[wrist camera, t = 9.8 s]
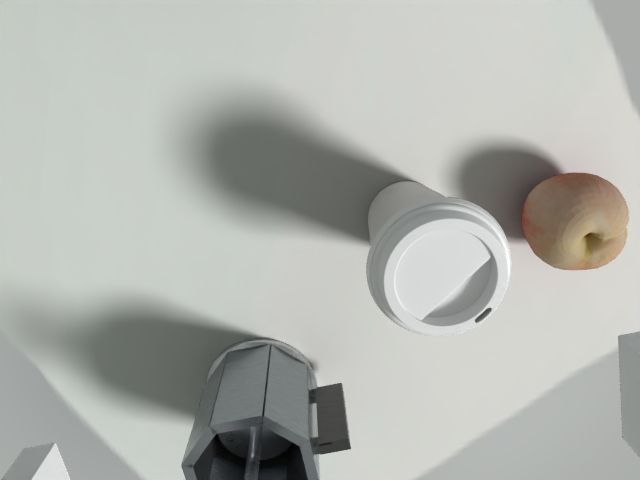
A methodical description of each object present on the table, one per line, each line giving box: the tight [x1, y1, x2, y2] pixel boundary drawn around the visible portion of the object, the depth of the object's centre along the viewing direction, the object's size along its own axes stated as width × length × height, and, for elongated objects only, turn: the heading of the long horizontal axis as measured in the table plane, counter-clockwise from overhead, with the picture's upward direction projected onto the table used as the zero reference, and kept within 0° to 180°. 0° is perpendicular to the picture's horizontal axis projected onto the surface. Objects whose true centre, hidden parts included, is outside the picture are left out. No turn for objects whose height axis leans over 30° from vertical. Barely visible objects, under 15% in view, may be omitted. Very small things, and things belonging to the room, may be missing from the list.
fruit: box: [522, 173, 629, 270], centre depth 46 cm, size 8×8×8 cm
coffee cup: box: [366, 181, 511, 336], centre depth 43 cm, size 10×10×15 cm
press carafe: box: [181, 338, 351, 480], centre depth 49 cm, size 11×13×12 cm
